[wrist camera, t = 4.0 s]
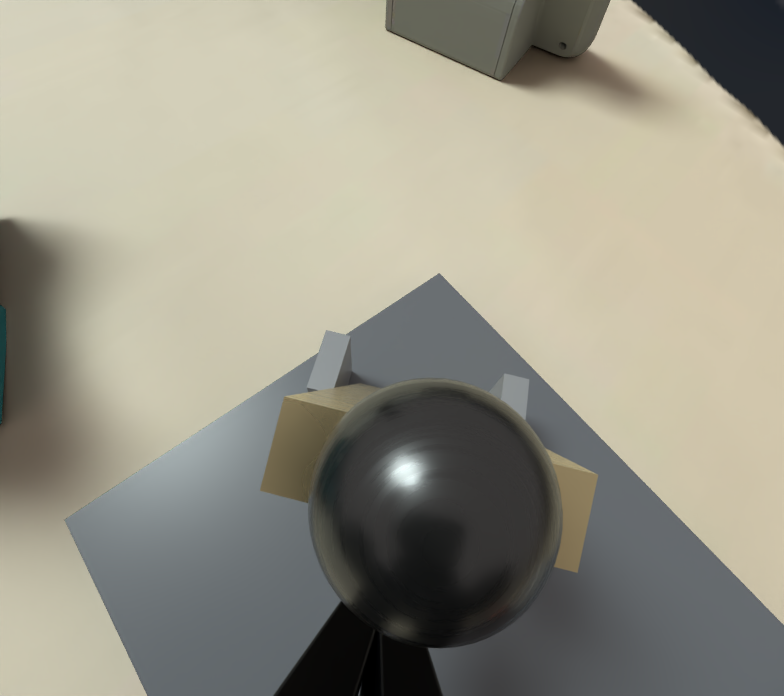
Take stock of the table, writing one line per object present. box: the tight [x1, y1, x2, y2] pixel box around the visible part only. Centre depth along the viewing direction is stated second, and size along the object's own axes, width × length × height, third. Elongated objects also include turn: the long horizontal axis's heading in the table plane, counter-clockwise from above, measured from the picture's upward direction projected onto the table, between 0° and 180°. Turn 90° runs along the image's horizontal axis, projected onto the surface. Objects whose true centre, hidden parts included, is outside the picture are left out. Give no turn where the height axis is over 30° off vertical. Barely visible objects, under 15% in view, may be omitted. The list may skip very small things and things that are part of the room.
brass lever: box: [260, 377, 598, 649], centre depth 9 cm, size 3×4×12 cm, turn 77°
